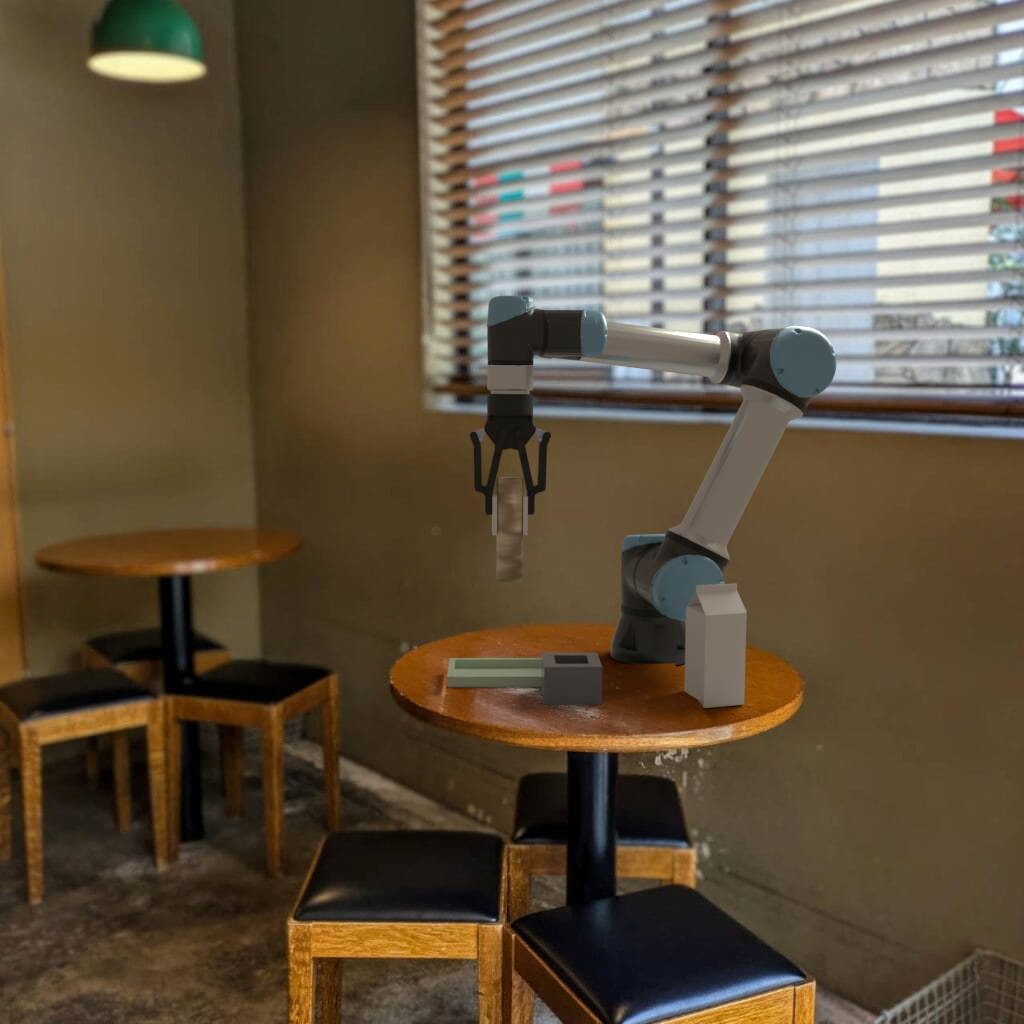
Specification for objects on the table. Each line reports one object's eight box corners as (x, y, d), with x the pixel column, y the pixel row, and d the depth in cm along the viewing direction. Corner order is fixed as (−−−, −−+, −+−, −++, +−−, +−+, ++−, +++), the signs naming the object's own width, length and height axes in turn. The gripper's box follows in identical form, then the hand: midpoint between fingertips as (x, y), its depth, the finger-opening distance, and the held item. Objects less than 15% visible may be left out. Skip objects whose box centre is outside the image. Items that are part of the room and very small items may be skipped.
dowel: (521, 577, 185) (522, 476, 183) (523, 582, 181) (524, 479, 179) (495, 577, 185) (496, 476, 183) (496, 582, 181) (497, 479, 179)
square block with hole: (596, 694, 180) (596, 652, 179) (601, 710, 171) (602, 666, 170) (541, 694, 180) (541, 652, 179) (544, 710, 171) (544, 667, 170)
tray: (552, 672, 193) (552, 657, 193) (556, 692, 181) (556, 676, 181) (449, 673, 193) (449, 658, 192) (446, 692, 181) (446, 676, 180)
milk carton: (744, 705, 174) (747, 587, 172) (703, 709, 172) (706, 590, 170) (723, 693, 181) (726, 579, 179) (683, 696, 179) (686, 581, 177)
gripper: (561, 392, 184) (559, 531, 186) (456, 391, 183) (456, 531, 185) (565, 393, 176) (564, 537, 179) (457, 392, 175) (457, 537, 178)
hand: (509, 534), depth 182 cm, fingers closed on dowel, 4 cm apart
